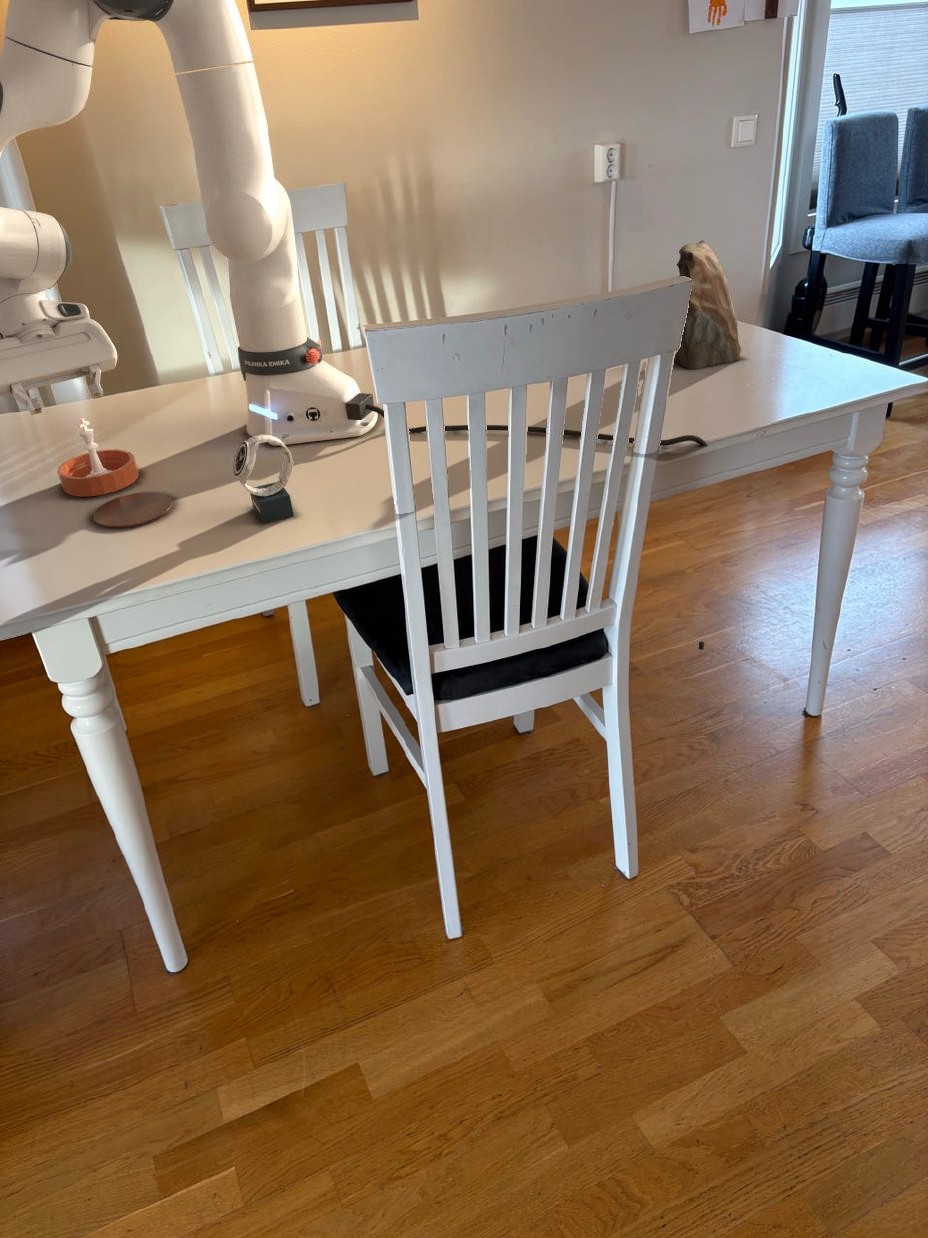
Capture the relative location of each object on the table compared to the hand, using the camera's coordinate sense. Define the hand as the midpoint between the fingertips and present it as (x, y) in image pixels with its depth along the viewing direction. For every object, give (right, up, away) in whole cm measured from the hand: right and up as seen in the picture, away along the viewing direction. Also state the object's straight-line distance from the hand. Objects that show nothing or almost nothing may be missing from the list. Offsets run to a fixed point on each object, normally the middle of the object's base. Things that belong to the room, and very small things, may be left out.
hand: (68, 403), depth 137 cm
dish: (+4, -12, +2) cm, 13 cm away
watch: (+34, -18, -11) cm, 40 cm away
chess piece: (+4, -12, +2) cm, 13 cm away
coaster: (+13, -17, -8) cm, 23 cm away
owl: (+106, +16, +33) cm, 112 cm away
